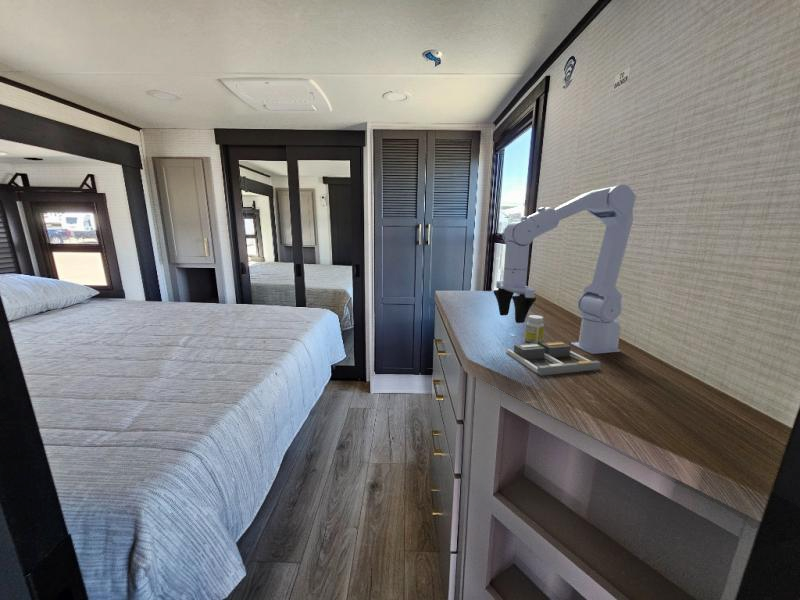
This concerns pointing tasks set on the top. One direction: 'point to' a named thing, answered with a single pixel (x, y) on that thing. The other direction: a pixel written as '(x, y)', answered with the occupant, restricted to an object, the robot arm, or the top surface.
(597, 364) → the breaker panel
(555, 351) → the breaker
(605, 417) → the top surface
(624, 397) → the top surface
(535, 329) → the supplement bottle
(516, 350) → the block
